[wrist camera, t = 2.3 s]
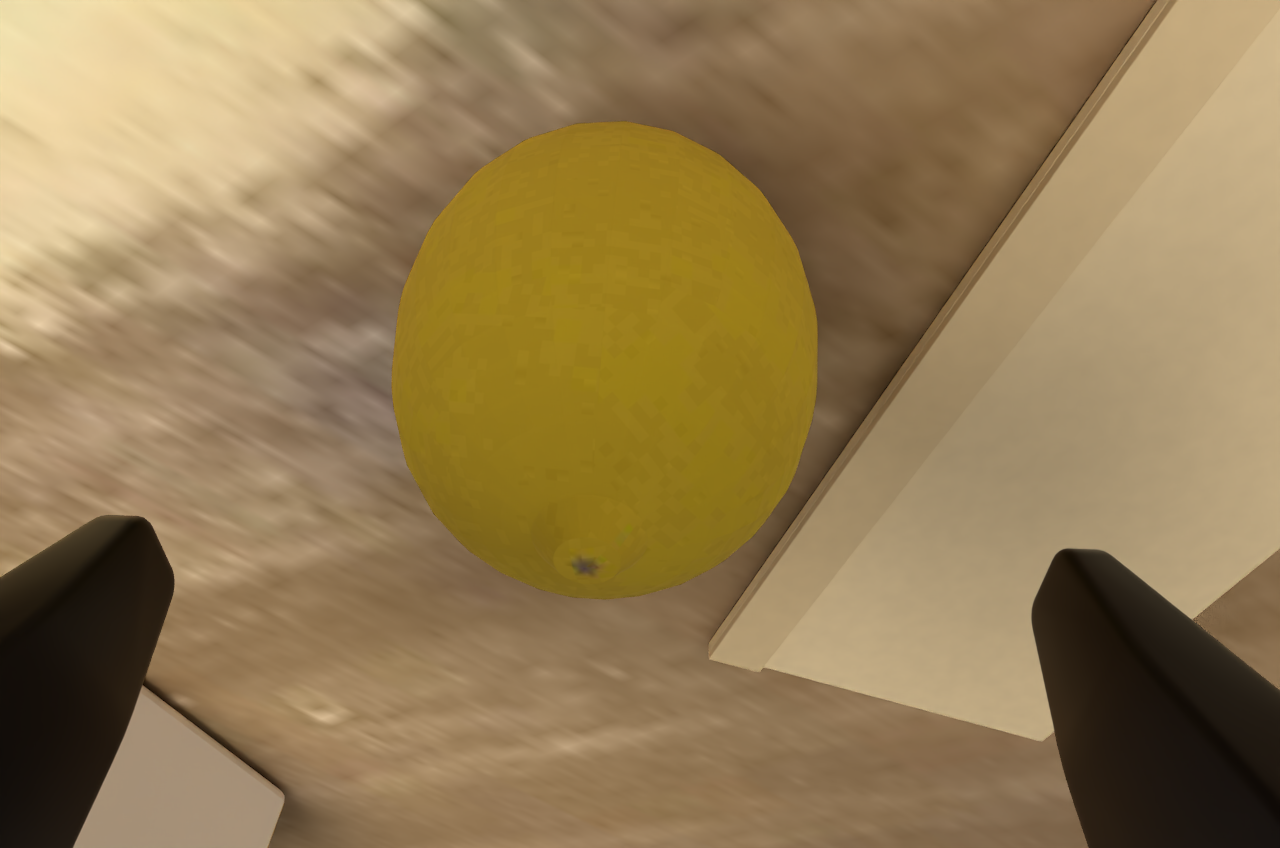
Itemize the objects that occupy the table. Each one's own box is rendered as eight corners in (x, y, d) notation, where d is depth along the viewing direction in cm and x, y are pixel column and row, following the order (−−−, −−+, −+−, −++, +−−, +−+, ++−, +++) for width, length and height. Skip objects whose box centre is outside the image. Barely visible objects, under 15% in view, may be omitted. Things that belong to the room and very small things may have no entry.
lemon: (394, 169, 14) (178, 494, 8) (680, -24, 12) (691, 205, 6) (581, 398, 17) (528, 772, 11) (837, 269, 15) (955, 632, 9)
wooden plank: (1038, 732, 24) (1044, 749, 23) (707, 643, 22) (708, 659, 21) (2119, -159, 11) (2172, -156, 11) (1557, -575, 9) (1597, -590, 9)
